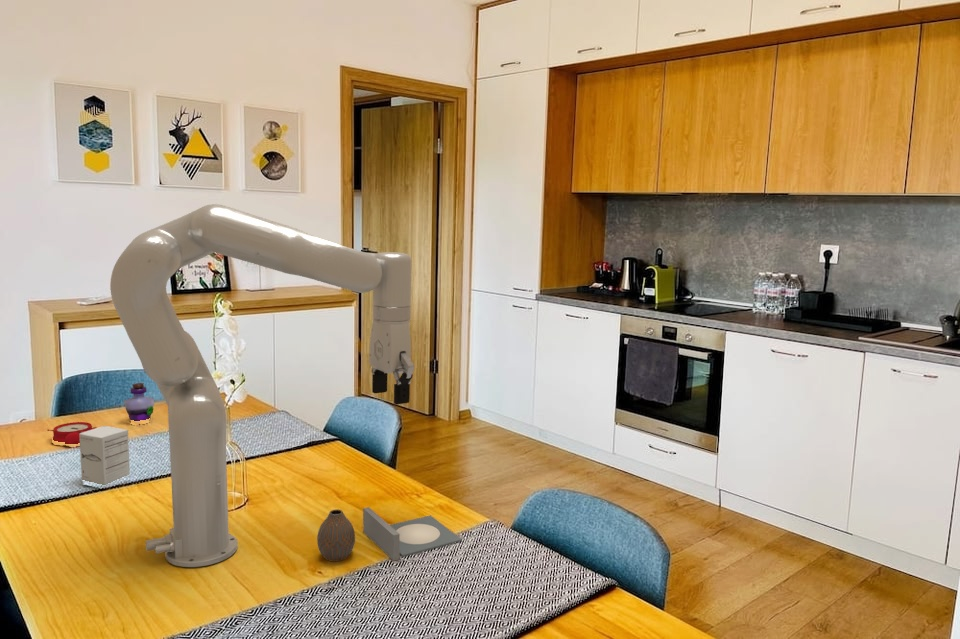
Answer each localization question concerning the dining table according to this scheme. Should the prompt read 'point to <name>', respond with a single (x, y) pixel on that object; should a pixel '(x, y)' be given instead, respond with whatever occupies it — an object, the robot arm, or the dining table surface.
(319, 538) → the vase
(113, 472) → the supplement box
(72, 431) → the alarm clock
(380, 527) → the low wall
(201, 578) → the dining table surface
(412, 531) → the mat
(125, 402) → the potion bottle
